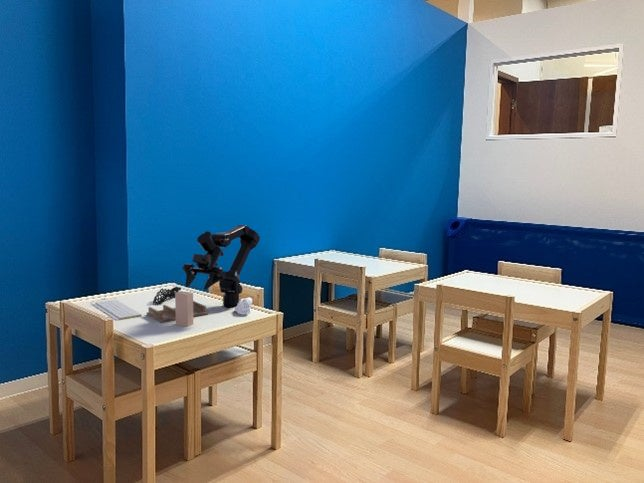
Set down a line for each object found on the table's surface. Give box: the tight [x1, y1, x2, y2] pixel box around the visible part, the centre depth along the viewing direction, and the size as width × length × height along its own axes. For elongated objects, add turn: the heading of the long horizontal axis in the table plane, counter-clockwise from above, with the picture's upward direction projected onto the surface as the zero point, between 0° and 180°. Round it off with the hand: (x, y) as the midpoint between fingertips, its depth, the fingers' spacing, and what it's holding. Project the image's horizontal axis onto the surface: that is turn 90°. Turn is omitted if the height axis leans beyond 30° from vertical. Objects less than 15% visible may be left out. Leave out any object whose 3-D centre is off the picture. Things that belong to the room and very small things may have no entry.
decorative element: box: [152, 286, 182, 306], centre depth 257 cm, size 22×5×6 cm, turn 170°
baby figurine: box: [233, 297, 253, 316], centre depth 238 cm, size 9×12×8 cm
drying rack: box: [146, 300, 209, 324], centre depth 231 cm, size 21×15×4 cm
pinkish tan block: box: [174, 290, 194, 327], centre depth 217 cm, size 4×6×13 cm, turn 66°
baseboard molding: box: [89, 297, 143, 321], centre depth 236 cm, size 31×3×12 cm
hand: (195, 288), depth 223 cm, fingers open, 9 cm apart
